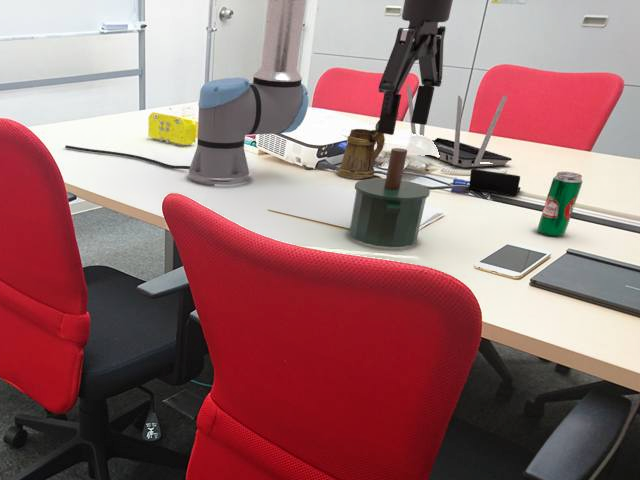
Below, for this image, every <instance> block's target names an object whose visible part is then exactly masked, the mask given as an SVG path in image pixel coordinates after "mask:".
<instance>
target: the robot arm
mask: <svg viewBox="0 0 640 480" xmlns="http://www.w3.org/2000/svg"><path fill="white" fill-rule="evenodd" d="M453 2H454V0H404V2H403V6H402V7H403V8H402V13H401V19H402V21H404V22H405V21H406V22H409V23H408V27H399V28H398V30H397V32H396V33H397V34H396V37H395V41H394V45H393V47H392V50H391V53H390V55H389V58H388V61H387V64H386V66H385V68H384V70H383V74H382V76H381V79H380V82H379V84H378V93H381V94H383V100H382V104H381V110H380V116H379V120H378V121H379V126H378V131H377V133H383V134H384V135H390V136H393V135H394V134H395V129H396V125H397V119H398V117H397V114H398V115H399V110H400V104H401V98H402V94H400V92H401V90H402V87H403V85H404V83H405V82H406V79H407V78H408V76H409V74H410V72H411V71H412V68H413V66H414V64H415V62H416V61H418V67H419V74H420V82H421V85H418V86H417V92H416V97H415V102H414V105H413V116H412V120H411V122H410V124H411V123H415V125H420V124H422V125H425V126H426V125H428V119H429V115H430V112H431V111H430V110H431V107H432V106H431V105H432V102H433V98H434V97H433V96H434V93H435V88H437V87H438V88H440V87H441V85H442V82H443V81H442V80H443V70H444V69H443V67H444V40H445V35H446V29H447V28H446V26H443V25H439V23H446V22H447V21H449V19H450V15H451V11H452V6H453ZM306 4H307V0H267V6H266V7H267V8H266V16H265V17H266V18H265V24H264V25H265V26H264V34H263V44H262V53H261V62H260V67H259V69H258V70H256V71H255V73H254V74H253V77H252V78H253V79H252V83H250V80H249V79H248V78H244V77H225V78H218V79H214V80H209V81H207V82H206V83H204V84H203V85H202V86H201V88H200V89H199V90H200V91H199V100H198V103H197V105H198V118H197V119H198V121H197V142H196V143H197V144H196V149H195V152H194V155H193V157H192V160H191V163H190V165H174V164H173V165H172V164H168V163H164V162H162V161H158V160H157V159H153V158H148V157H145V156H140V155H136V154H130V153H124V152H118V151H110V150H103V149H95V148H94V149H93V148H85V147H79V146H73V145H67V144H65V146H64V148H65V149H69V150H74V151H81V152H88V153H95V154H96V153H97V154H103V155H105V154H106V155H113V156H120V157H125V158H132V159H137V160H141V161H145V162H149V163H151V164H156V165H158V166H161V167H165V168H169V169H173V170H188V179H189V180H190V181H192V182H194V183H197V184H200V185H206V186H213V187H214V186H216V185H221V186H229V185H238V184H243V183H246V182H248V181H249V180H250V170H249V164H248V161H247V157H246V151H245V139H246V136H252V135H253V136H254V135H271V134H272V135H273V134H274V135H281V134H286V133H287V134H288V133H292V132H294V131H296V130H297V129H298V128H299V127H300V126H301V125H302V123H303V121H304V120H305V118H306V115H307V111H308V108H309V96H308V94H309V93H308V89H307V87H306V86H305V84H303V83H302V79H303V77H302V75H301V74H300V73H299V71H298V63H299V55H300V50H301V49H300V48H301V41H302V35H303V27H304V18H305V11H306ZM423 85H424V86H423Z"/></svg>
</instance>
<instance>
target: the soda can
mask: <svg viewBox="0 0 640 480" xmlns="http://www.w3.org/2000/svg"><path fill="white" fill-rule="evenodd" d="M582 178H583V175H582V174H580V173H577V172H571V171H558V172H557V173H556V175H555V176H554V177H553V178H552V181H551V184H550V187H549V191H548V194H547V196H546V200H545V204H544V206H543V209H542V213H541V216H540V219H539V222H538V225H537V228H536V229H537V231H538V233H539V234H541V235H543V236H547V237H554V238H556V237H558V238H559V237H562V236H563V235H565V234H566V232H567V228H568V226H569V222H570V221H571V217H572V214H573V212H574V208H575V205H576V203H577V200H578V197H579V193H580V191H581V188H582V185H583V179H582Z"/></svg>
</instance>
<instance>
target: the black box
mask: <svg viewBox="0 0 640 480" xmlns="http://www.w3.org/2000/svg"><path fill="white" fill-rule="evenodd" d="M520 180H521V176H520V175H516V174H510V173H503V172H496V171H490V170H483V169H477V168H472V169H471V170H470V176H469V184H468V189H469V190H474V191H480V192H488V193H489V192H490V193H495V194H499V195H505V196H512V197H516V196H517V195H518V194H519V193H520V191H521V186H520Z"/></svg>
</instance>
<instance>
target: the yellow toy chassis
mask: <svg viewBox="0 0 640 480" xmlns="http://www.w3.org/2000/svg"><path fill="white" fill-rule="evenodd" d="M147 130H148V135H147V137H149V138H153V139H154V140H155V141H158V142H163V141H165V143H166V144H169V143H175V144H176V146H178V147H186V146H189V145H192V144H195V143H196V140H197V139H196V138H197V125H196V124H195V122H194V121H193V119H192V120H191V119H186V118H182V117H180V116H175V115H169V114H165V113H160V112H155V111H154V112H153V111H152V112H151V114H149V115H148V129H147Z"/></svg>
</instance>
